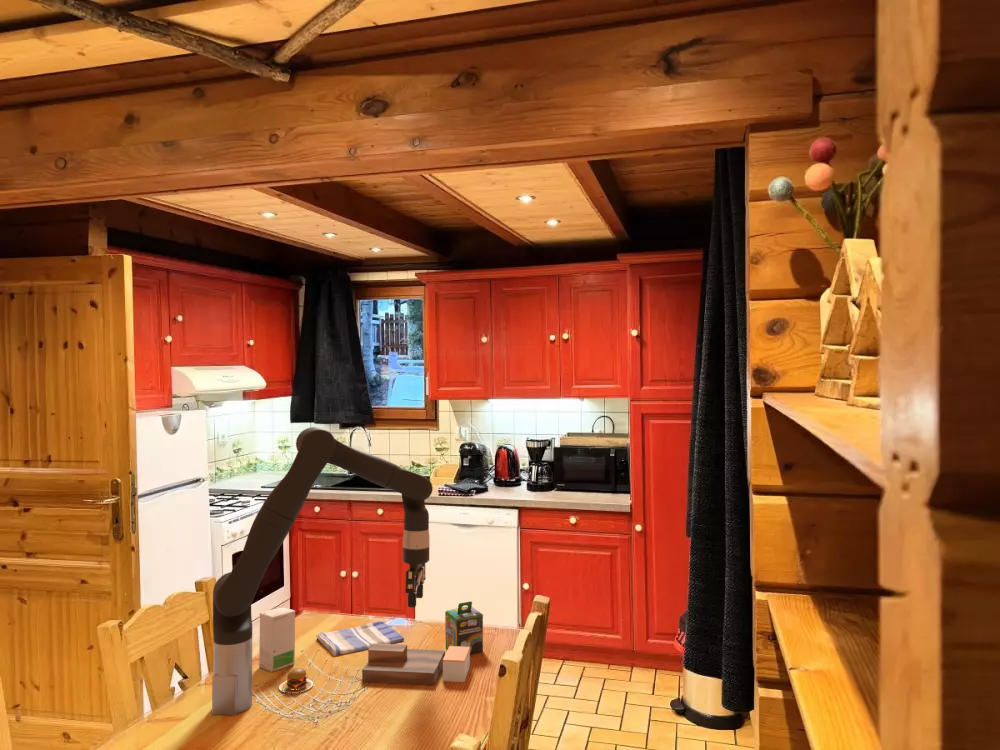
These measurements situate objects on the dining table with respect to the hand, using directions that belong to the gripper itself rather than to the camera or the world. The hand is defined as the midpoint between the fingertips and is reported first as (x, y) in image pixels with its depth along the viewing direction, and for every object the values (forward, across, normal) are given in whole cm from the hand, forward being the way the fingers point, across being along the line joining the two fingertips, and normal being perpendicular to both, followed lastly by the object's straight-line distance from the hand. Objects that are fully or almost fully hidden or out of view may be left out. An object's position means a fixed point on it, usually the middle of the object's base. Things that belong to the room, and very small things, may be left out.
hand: (415, 602), depth 197 cm
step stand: (+20, 0, +3) cm, 20 cm away
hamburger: (+21, -13, +30) cm, 38 cm away
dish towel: (+21, +22, +23) cm, 38 cm away
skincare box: (+20, 0, +41) cm, 46 cm away
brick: (+14, 0, -12) cm, 18 cm away
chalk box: (+20, +18, -11) cm, 29 cm away
